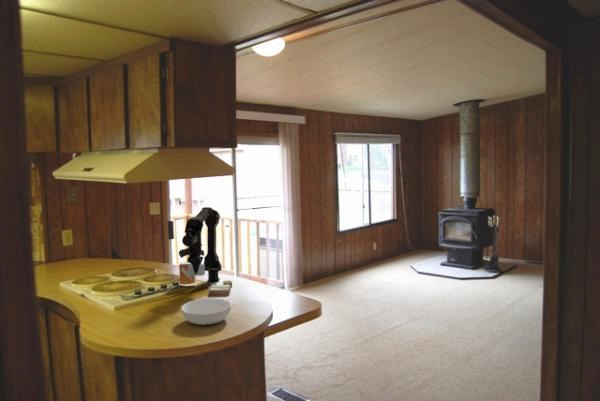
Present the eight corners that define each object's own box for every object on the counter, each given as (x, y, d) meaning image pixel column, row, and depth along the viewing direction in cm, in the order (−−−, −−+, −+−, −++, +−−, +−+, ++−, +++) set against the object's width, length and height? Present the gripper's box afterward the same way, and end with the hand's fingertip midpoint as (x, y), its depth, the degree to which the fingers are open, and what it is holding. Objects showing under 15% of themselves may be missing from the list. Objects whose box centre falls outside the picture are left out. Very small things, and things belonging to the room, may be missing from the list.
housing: (189, 273, 242) (189, 263, 242) (204, 273, 243) (204, 263, 242) (187, 275, 237) (187, 265, 237) (203, 275, 238) (203, 265, 237)
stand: (211, 290, 245) (211, 285, 245) (230, 289, 246) (230, 284, 246) (209, 296, 236) (209, 290, 235) (229, 295, 236) (229, 289, 236)
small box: (179, 287, 252) (178, 264, 250) (181, 284, 258) (180, 261, 257) (195, 287, 253) (194, 263, 252) (195, 284, 259) (195, 261, 258)
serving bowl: (173, 329, 190) (173, 312, 190) (192, 312, 211) (192, 297, 210) (223, 331, 187) (222, 314, 187) (237, 313, 208) (236, 298, 207)
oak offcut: (223, 286, 254) (223, 281, 254) (230, 285, 256) (230, 280, 255) (224, 288, 250) (224, 282, 250) (232, 287, 252) (232, 281, 252)
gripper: (182, 240, 247) (183, 268, 249) (176, 246, 229) (177, 277, 230) (203, 239, 248) (204, 268, 249) (199, 245, 230) (200, 276, 231)
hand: (196, 272), depth 240 cm, fingers closed on housing, 5 cm apart
